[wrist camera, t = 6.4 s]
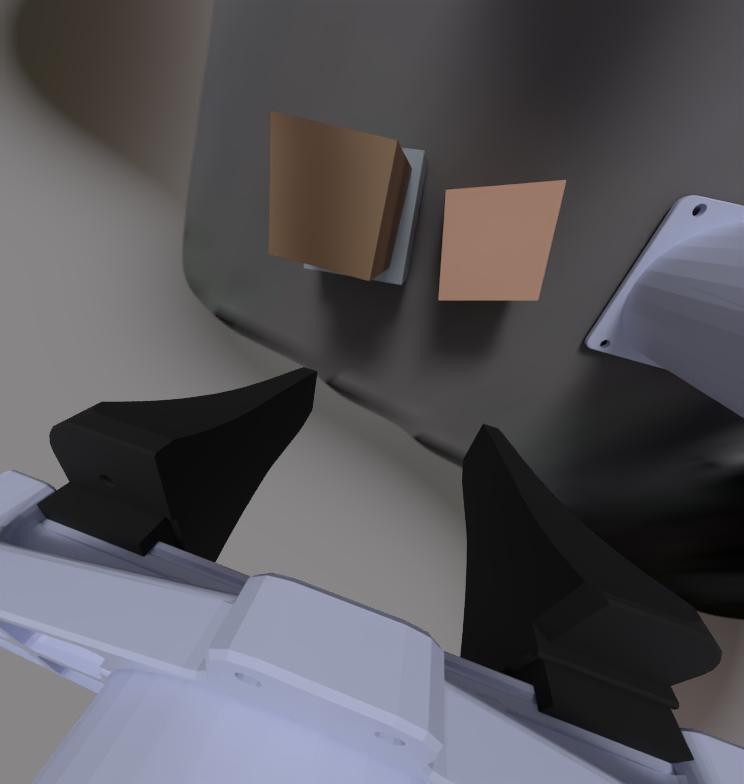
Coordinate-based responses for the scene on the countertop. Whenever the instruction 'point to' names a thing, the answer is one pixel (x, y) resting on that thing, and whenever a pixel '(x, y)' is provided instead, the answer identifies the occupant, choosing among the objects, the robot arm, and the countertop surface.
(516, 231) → the terracotta block
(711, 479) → the countertop surface
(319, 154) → the walnut block
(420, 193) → the plinth block
